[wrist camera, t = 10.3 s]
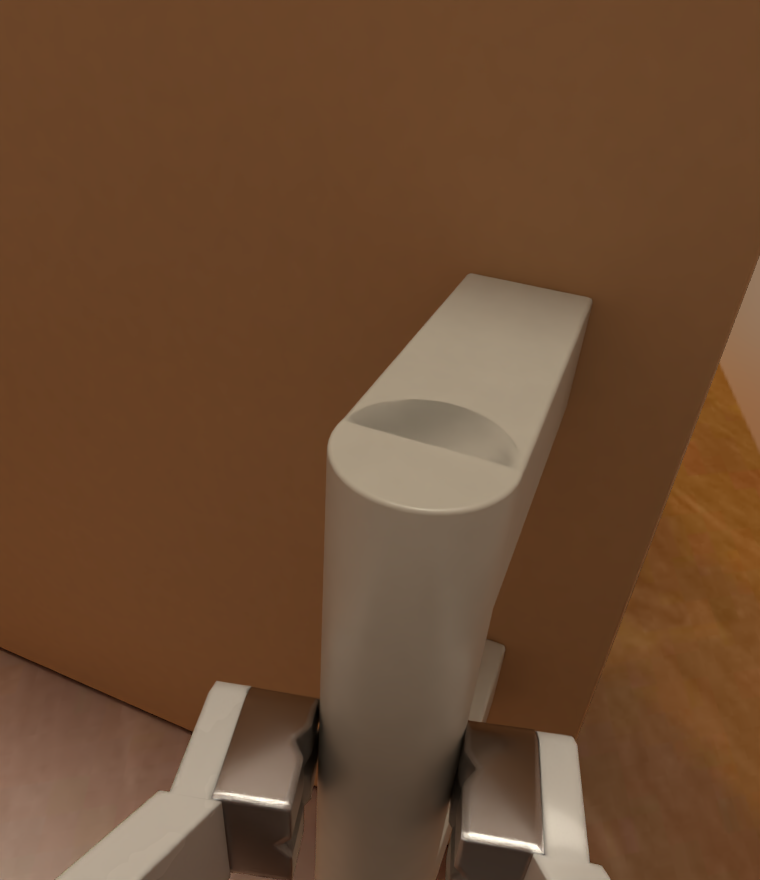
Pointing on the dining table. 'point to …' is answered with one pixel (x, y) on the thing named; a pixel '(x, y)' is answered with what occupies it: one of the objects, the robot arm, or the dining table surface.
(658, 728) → the dining table surface
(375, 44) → the door
